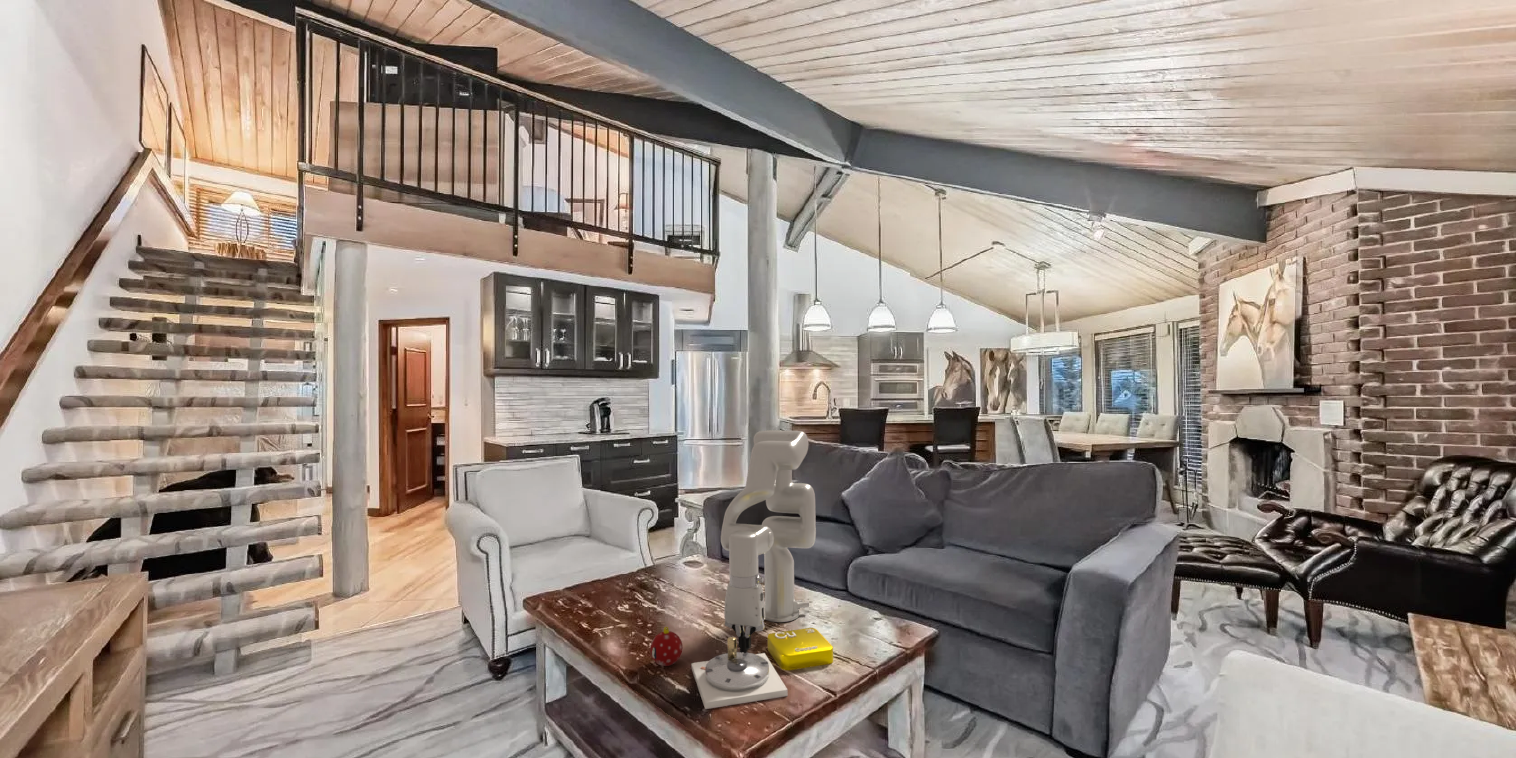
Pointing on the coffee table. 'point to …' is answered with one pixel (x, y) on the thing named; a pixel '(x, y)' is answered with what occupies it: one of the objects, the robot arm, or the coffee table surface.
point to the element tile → (800, 649)
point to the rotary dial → (736, 669)
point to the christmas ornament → (666, 648)
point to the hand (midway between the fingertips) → (744, 650)
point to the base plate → (724, 698)
